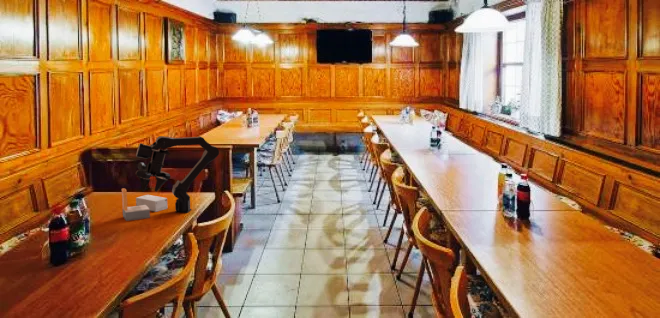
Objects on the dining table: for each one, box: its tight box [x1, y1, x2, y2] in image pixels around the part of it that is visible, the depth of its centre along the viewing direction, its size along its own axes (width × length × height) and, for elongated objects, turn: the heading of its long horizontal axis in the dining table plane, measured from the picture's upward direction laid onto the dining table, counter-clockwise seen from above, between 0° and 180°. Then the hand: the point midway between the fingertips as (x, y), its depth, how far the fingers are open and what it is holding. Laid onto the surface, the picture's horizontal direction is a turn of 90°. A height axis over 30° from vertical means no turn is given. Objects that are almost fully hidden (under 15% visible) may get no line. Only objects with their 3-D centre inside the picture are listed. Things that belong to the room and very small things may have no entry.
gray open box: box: [122, 209, 151, 222], centre depth 244 cm, size 11×8×4 cm
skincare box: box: [135, 194, 168, 212], centre depth 260 cm, size 8×6×15 cm
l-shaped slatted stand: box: [121, 187, 149, 213], centre depth 242 cm, size 11×8×11 cm
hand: (149, 191), depth 247 cm, fingers open, 9 cm apart
